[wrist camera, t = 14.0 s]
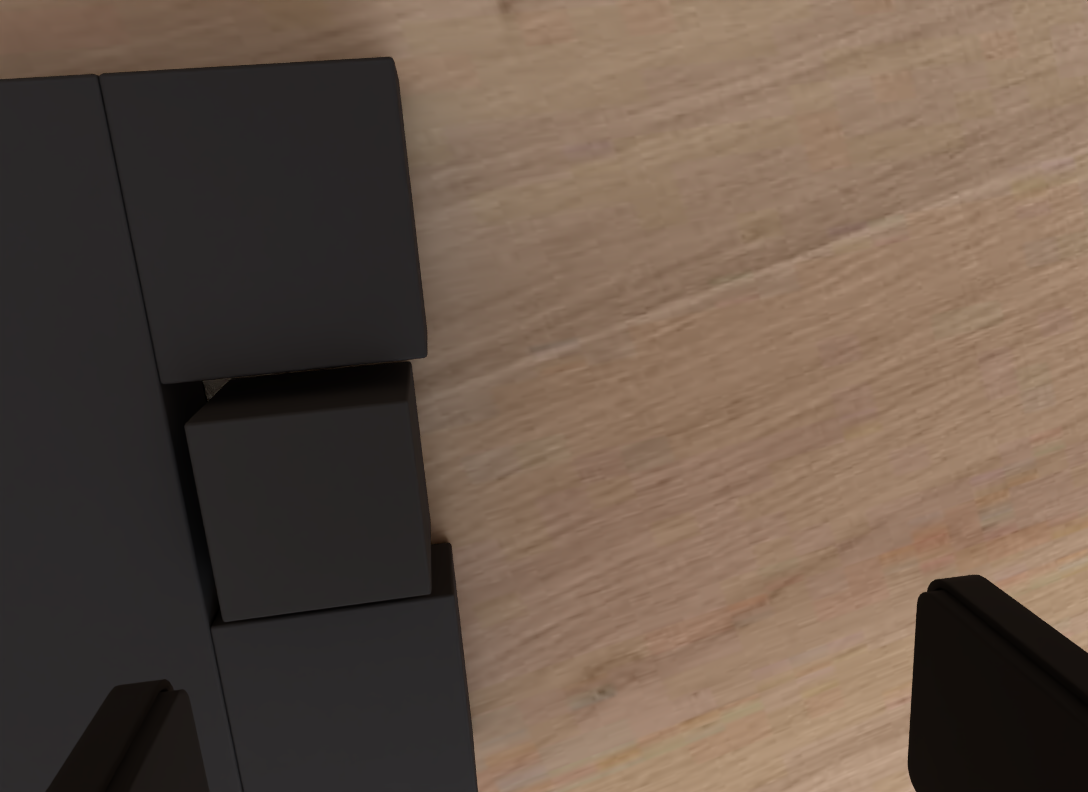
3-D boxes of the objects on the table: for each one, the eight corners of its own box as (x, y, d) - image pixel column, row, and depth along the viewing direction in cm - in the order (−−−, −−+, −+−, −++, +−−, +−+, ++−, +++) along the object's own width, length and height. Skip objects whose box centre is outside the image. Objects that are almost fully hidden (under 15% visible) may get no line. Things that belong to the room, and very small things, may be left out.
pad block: (228, 379, 20) (182, 424, 16) (411, 360, 21) (407, 399, 17) (258, 545, 21) (222, 623, 17) (430, 523, 22) (432, 595, 18)
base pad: (-476, 129, 17) (-660, 117, 14) (398, 75, 19) (393, 56, 16) (-205, 841, 22) (-303, 941, 19) (473, 734, 24) (479, 810, 21)
